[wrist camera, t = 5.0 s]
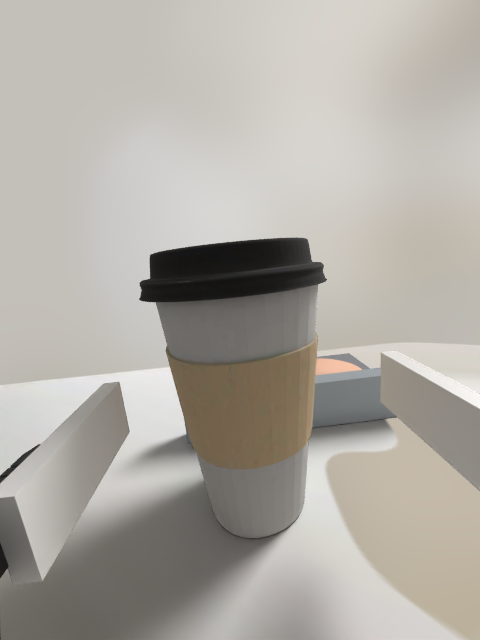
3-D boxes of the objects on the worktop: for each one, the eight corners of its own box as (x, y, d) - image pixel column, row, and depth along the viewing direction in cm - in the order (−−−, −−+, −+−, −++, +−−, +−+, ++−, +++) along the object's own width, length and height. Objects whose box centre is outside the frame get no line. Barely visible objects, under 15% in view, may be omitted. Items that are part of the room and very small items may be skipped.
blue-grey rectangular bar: (188, 443, 22) (181, 399, 22) (190, 432, 24) (184, 390, 23) (421, 414, 23) (423, 370, 22) (409, 405, 24) (411, 364, 24)
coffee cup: (363, 488, 16) (362, 233, 13) (255, 638, 10) (206, 235, 7) (255, 428, 23) (237, 252, 20) (152, 496, 17) (105, 261, 14)
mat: (276, 413, 25) (276, 404, 25) (261, 369, 36) (260, 362, 36) (400, 398, 26) (400, 390, 25) (348, 359, 36) (348, 352, 36)
